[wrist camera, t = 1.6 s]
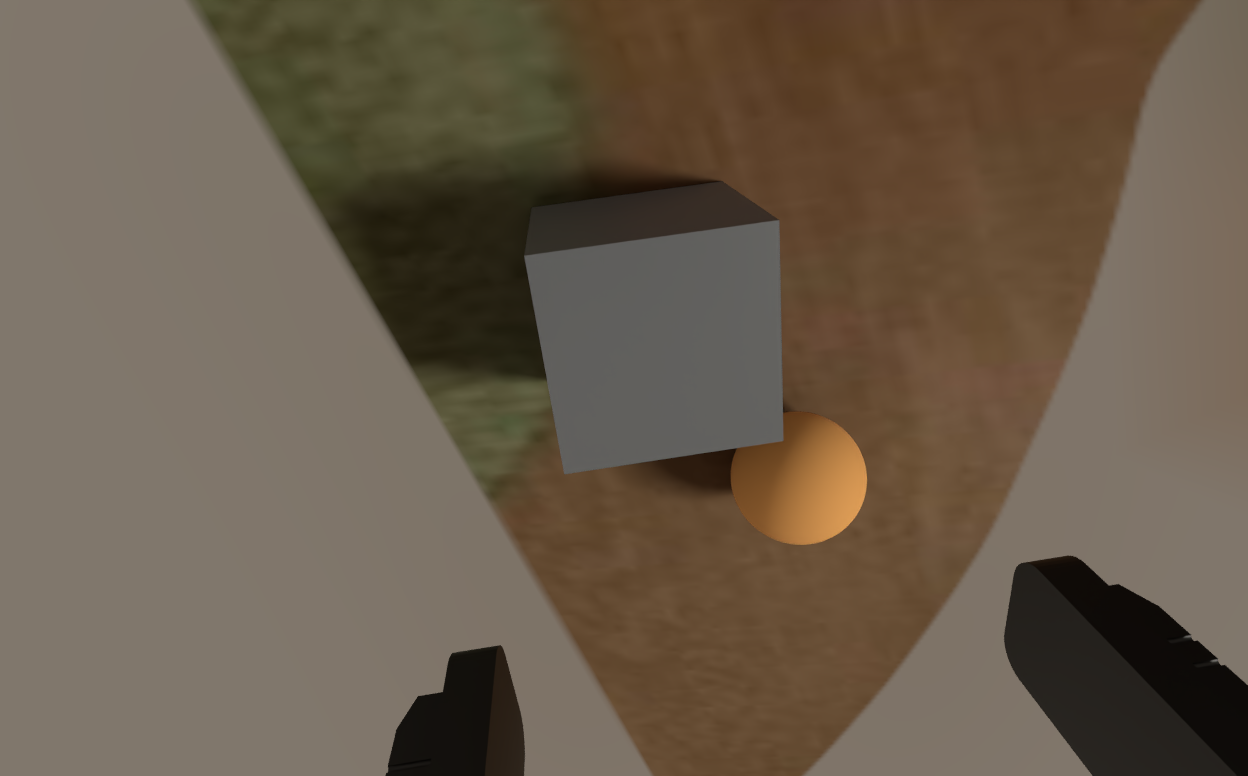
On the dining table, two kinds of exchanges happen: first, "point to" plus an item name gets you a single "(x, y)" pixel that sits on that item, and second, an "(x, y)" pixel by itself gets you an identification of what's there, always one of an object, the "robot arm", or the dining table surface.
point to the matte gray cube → (658, 323)
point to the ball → (801, 481)
